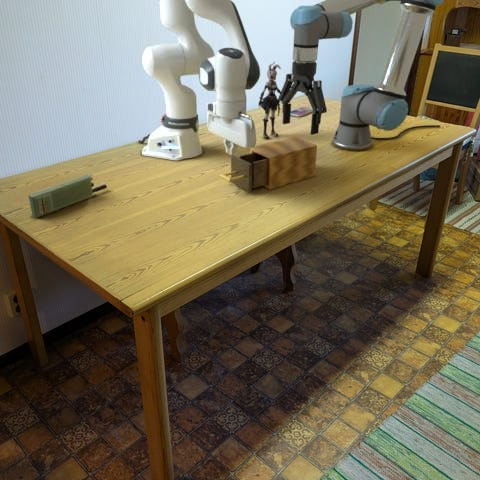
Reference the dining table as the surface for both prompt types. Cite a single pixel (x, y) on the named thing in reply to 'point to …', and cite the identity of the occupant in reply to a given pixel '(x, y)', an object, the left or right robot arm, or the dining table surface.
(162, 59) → the left robot arm
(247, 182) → the drawer
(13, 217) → the dining table surface
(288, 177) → the cabinet
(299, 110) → the smartphone
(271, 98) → the figurine
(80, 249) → the dining table surface
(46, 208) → the handheld radio
